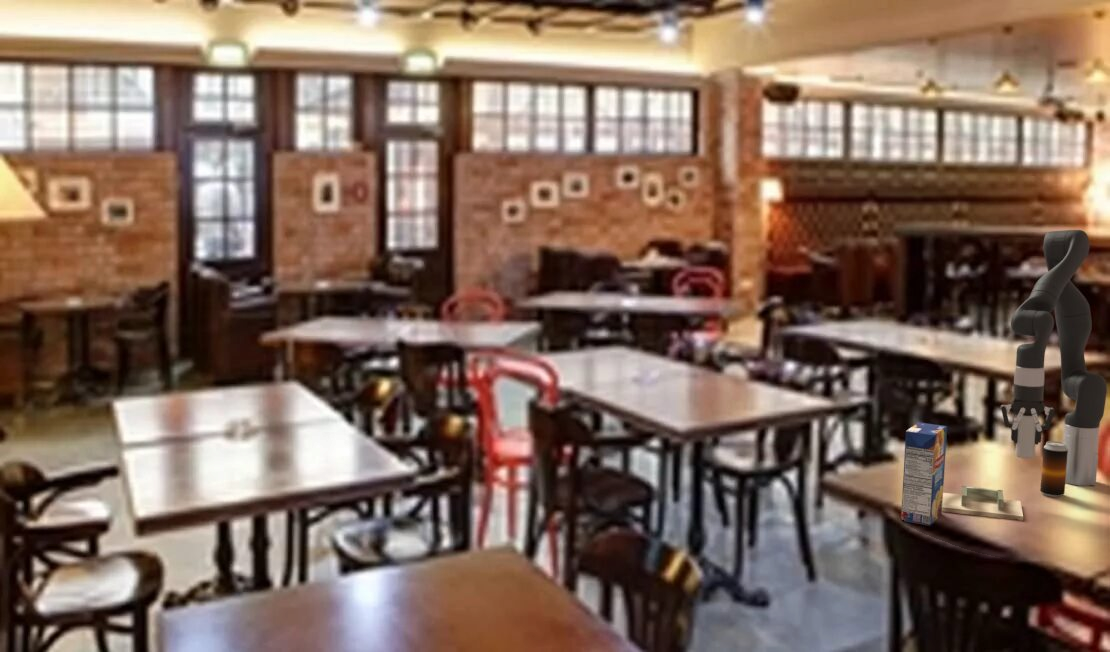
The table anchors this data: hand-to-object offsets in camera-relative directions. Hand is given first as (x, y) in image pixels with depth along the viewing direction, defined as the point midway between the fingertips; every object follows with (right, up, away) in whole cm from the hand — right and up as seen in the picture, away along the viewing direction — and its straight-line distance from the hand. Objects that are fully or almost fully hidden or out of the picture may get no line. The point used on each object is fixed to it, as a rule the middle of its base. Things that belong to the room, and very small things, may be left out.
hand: (1025, 442), depth 293 cm
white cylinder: (0, -4, +1) cm, 4 cm away
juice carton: (-33, -19, -12) cm, 39 cm away
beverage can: (+11, -16, +9) cm, 21 cm away
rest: (-14, -17, -4) cm, 22 cm away
